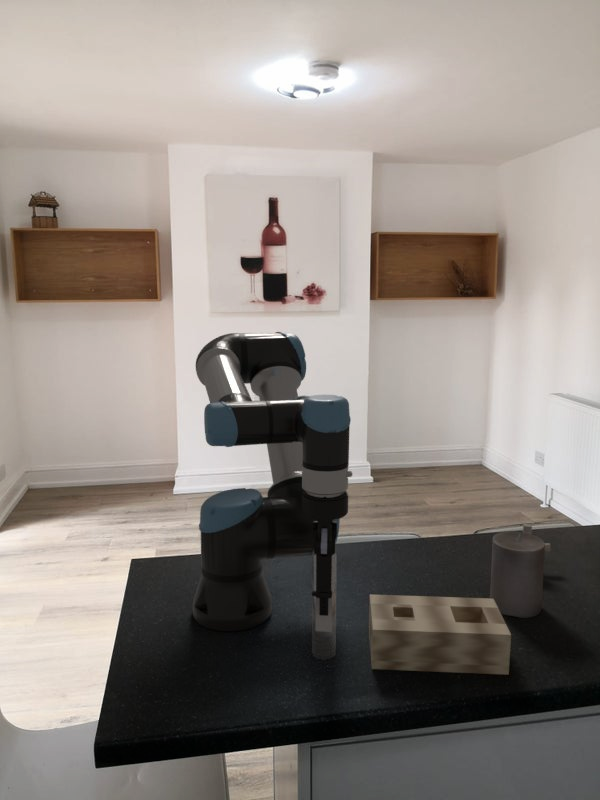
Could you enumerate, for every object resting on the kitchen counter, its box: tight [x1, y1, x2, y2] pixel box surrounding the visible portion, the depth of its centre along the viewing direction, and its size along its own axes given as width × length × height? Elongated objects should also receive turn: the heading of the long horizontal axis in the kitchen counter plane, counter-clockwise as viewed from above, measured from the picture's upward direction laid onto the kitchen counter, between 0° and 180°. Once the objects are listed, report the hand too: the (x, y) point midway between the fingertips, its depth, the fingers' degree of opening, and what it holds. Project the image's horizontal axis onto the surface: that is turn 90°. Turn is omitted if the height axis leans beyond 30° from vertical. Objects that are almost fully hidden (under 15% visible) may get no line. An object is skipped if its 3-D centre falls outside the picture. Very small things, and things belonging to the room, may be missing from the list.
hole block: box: [368, 594, 512, 676], centre depth 108 cm, size 22×12×7 cm, turn 86°
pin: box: [311, 551, 338, 661], centre depth 106 cm, size 4×4×18 cm
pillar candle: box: [489, 530, 545, 619], centre depth 122 cm, size 10×10×15 cm
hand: (324, 622), depth 107 cm, fingers closed on pin, 4 cm apart
